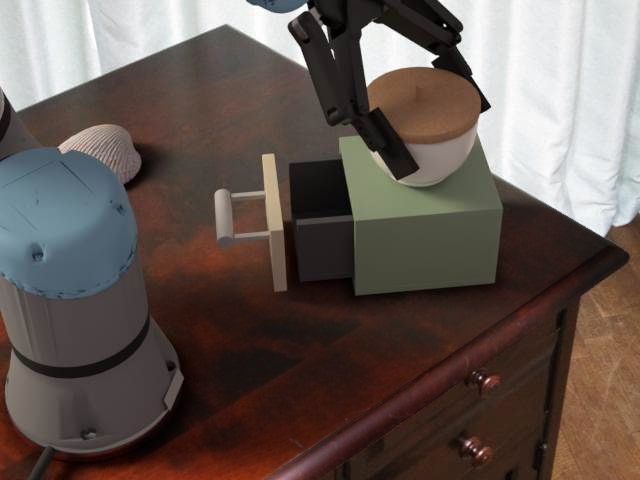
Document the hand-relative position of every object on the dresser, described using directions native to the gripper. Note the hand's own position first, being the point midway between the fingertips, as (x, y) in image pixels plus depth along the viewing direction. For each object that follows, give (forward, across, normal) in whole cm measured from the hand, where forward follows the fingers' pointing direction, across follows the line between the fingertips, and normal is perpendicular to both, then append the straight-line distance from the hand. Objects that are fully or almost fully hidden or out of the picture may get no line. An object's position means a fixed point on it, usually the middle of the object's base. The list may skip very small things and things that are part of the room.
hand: (445, 143), depth 104 cm
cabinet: (+8, 0, +12) cm, 15 cm away
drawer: (+2, -8, +17) cm, 19 cm away
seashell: (-17, -11, +37) cm, 42 cm away
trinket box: (+1, 0, +5) cm, 5 cm away
